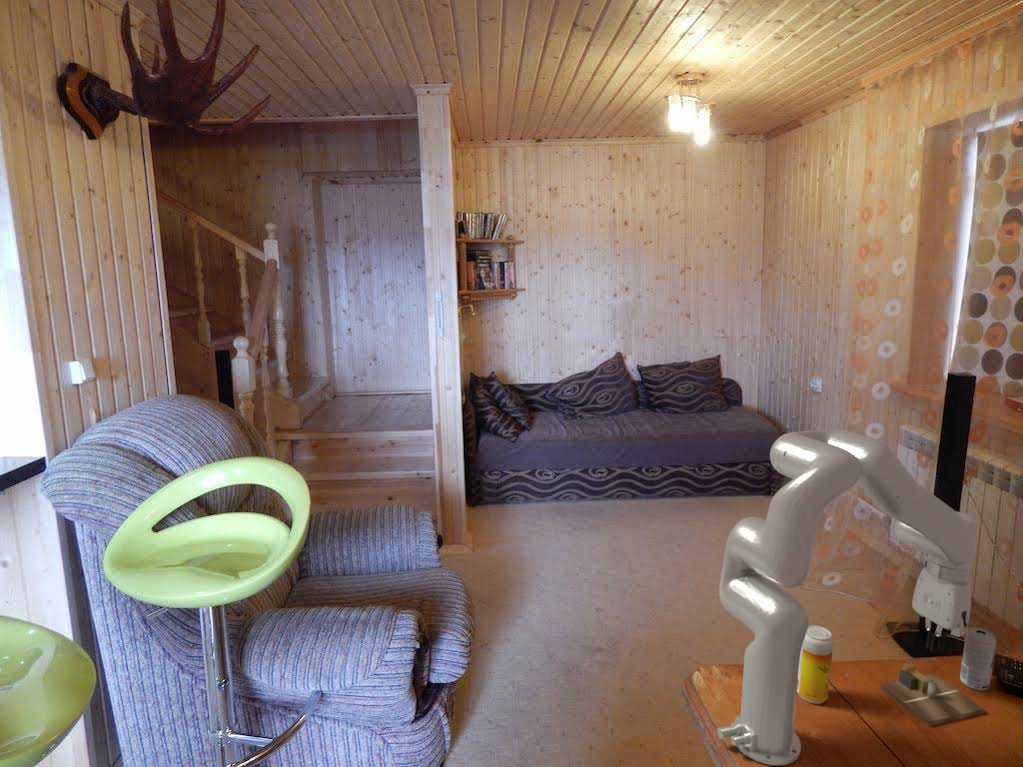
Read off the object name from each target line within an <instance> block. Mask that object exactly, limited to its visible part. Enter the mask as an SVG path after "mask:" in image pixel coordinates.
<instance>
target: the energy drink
mask: <svg viewBox="0 0 1023 767" xmlns="http://www.w3.org/2000/svg"><path fill="white" fill-rule="evenodd" d="M996 645H997V639H996V635H995V634H994V633H993V632H991V631H990V630H987V629H984V628H981V627H977V626H976V627H975V626H974V627H968V629H967V631H966V633H965V638H964V645H963V653H962V661H961V665H960V666H961V667H960V674H959V675H960V676H959V680H960V681H961V683H962V684H963V685H964V686H966V688H967V687H968V688H970V689H972V690H975V691H980V692H981V691H987V690H989V689H990V688H991V687H990V685H991V679H992V674H993V673H992V672H993V665H994V661H995V660H994V659H995V652H996Z"/></svg>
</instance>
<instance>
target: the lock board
mask: <svg viewBox="0 0 1023 767" xmlns="http://www.w3.org/2000/svg"><path fill="white" fill-rule="evenodd" d="M924 676H925V677H926V678H928V679H929V680H931V681H930V682H929V683H928V691H926V692H921V691H919V690H918V689H916V688H915V687H914V686H915V678H914V677H913V676H912V675H910V674H909V673H907V672H906V671H905V670H903V669H901V670H899V676H898V677H899V679H898V680H897V681H892V682H888V683H882V684H881V686H880V690H882V691H883V692H884V693H886V694H887V695H888V696H889V697H891V698H892V699H893V700H894V701H895V702H897V703H899V704H900V705H901V706H903V707H904V708H905V709H906V710H908V712H910V713H911V714H913V716H915V717H916V718H917V719H919V720H920V721H921V722H923V723H924V724H925V725H927V726H928V727H932V726H936V725H940V724H944V723H948V722H952V721H953V722H954V721H957V720H958V721H959V720H962V719H965V718H970V717H974V716H979V715H983V714H985V708H983V707H982V705H980V704H978V703H976V702H975V701H974V700H972V699H971V698H969V697H967V696H966V695H965V694H963V693H962V692H961V691H959V690H958V689H956V688H954V687H953V686H952V685H950V683H948V682H946V681H945V680H943V679H942V678H940V677H939V676H937V675H936V674H934V673H930V674H926V675H924Z"/></svg>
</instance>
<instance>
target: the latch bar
mask: <svg viewBox="0 0 1023 767" xmlns="http://www.w3.org/2000/svg"><path fill="white" fill-rule="evenodd" d="M902 665H903V667H902V670H905V671H906V672H907V673H909V674H910V675H912V676H913V677H914V678H915V686H914V687H915V688H916V689H918V690H919V691H921V692H926V691H928V683H929V682H930V681H931V680H929V679H928V678H926V677H925V675H923V674H922V673H920V672H918V671H917V670H916V667H917V666H916V665H915V664H914V663H912V662H908V663H904V664H902Z"/></svg>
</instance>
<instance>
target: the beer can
mask: <svg viewBox="0 0 1023 767" xmlns="http://www.w3.org/2000/svg"><path fill="white" fill-rule="evenodd" d="M833 648H834V638H833V636H832V632H830V630H829V629H827V628H825V627H823V626H819V625H815V624H809V625H808V629H807V633H806V635H805V638H804V641H803V645H802V648H801V653H800V659H799V668H798V681H797V694H798V695H799V697H800V698H801V699H803V701H805V702H807V703H810V704H814V705H820V704H823V703H824V702H826V701H827V700H828V698H829V690H830V689H829V688H830V680H831V669H832V658H833Z"/></svg>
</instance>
